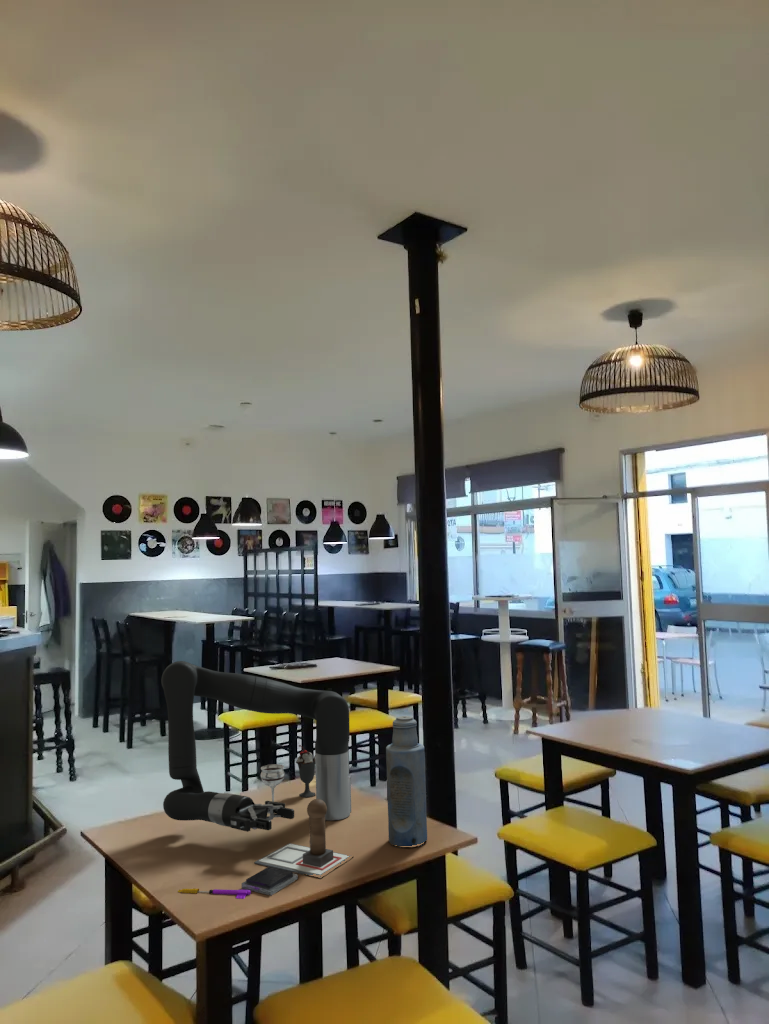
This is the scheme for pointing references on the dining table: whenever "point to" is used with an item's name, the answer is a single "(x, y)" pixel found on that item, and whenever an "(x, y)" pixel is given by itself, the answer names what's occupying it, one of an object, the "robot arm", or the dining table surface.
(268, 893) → the ink pad
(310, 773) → the sundae
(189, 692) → the robot arm
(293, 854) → the print sheet
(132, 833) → the dining table surface
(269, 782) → the wineglass
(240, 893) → the marker pen
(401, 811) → the bottle
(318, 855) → the stamp
